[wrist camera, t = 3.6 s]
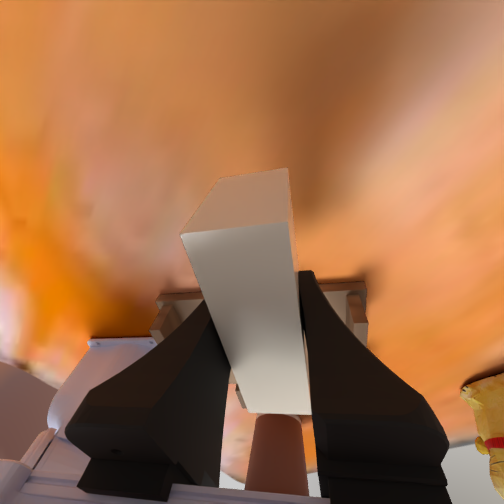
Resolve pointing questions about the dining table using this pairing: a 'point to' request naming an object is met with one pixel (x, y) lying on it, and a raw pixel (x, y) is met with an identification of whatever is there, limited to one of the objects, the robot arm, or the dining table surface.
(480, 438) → the chocolate bunny
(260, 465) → the coffee cup
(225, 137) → the dining table surface
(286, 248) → the cream rectangular block
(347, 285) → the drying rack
